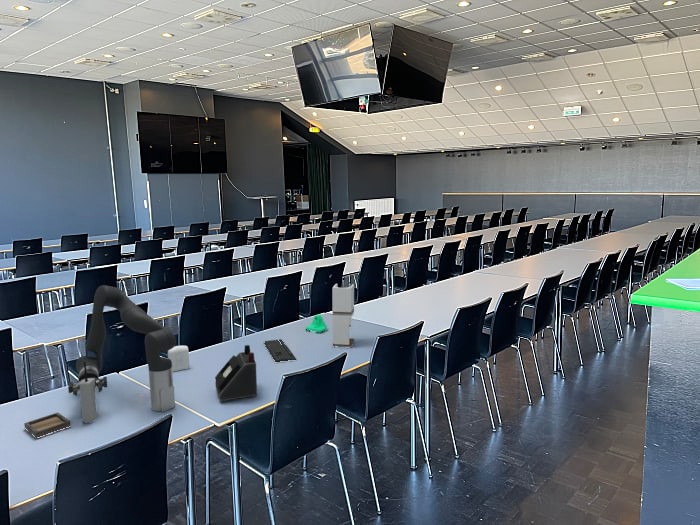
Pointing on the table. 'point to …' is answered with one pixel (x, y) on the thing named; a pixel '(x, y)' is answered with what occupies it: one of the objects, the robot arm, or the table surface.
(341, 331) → the tall grey pillar
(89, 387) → the vintage mobile phone
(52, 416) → the brown square tray
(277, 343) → the keyboard
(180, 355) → the photo printer
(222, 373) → the voltmeter
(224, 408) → the table surface
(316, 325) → the green draped cloth
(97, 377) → the robot arm
